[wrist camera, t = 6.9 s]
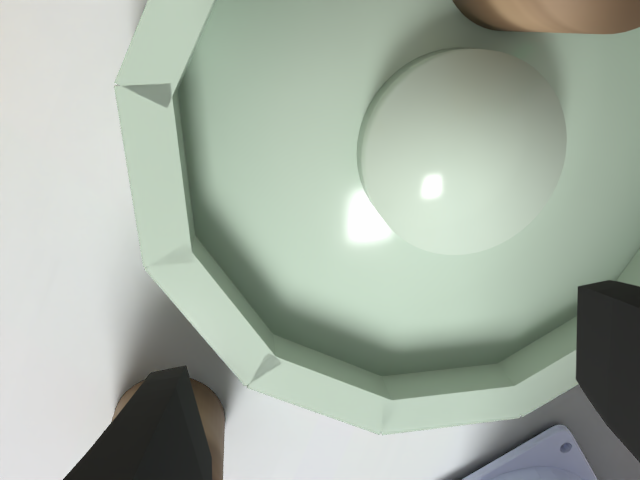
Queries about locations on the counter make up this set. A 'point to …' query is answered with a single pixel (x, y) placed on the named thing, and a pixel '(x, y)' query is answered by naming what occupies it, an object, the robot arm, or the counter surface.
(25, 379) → the counter surface
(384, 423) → the tray
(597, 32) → the bead
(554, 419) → the counter surface
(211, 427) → the bead
